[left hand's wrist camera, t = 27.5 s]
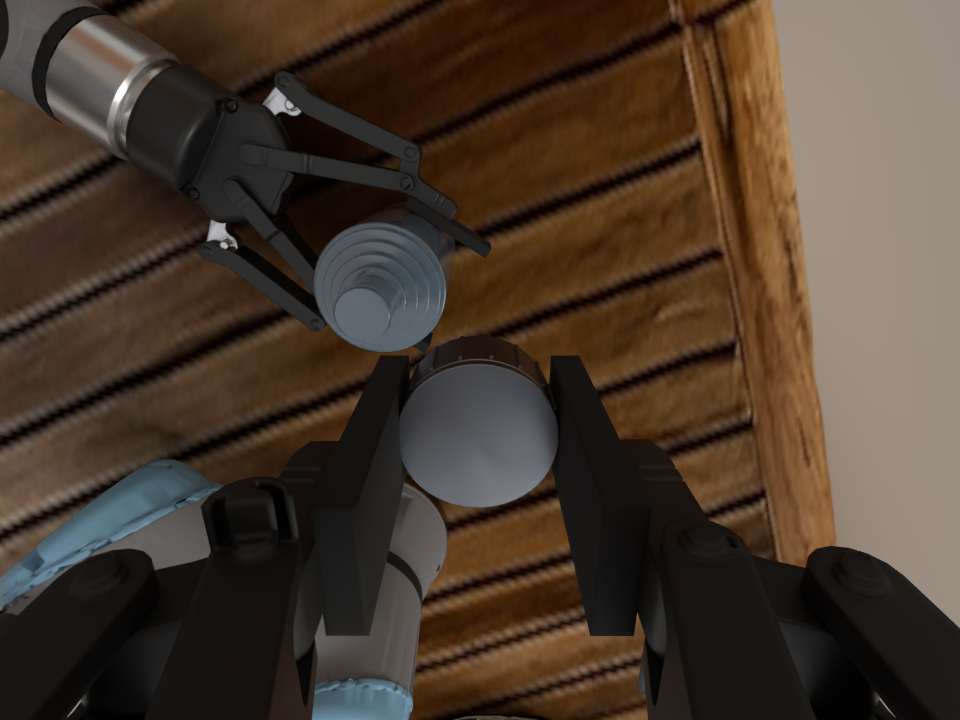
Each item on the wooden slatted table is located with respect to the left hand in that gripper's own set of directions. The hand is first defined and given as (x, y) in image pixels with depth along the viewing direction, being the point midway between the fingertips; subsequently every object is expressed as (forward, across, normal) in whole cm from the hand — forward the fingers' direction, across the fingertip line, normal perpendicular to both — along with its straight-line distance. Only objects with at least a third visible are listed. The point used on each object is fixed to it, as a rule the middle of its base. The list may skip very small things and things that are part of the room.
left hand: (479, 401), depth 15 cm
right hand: (+25, +2, +4) cm, 25 cm away
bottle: (+31, +6, +1) cm, 31 cm away
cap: (-2, 0, 0) cm, 2 cm away
